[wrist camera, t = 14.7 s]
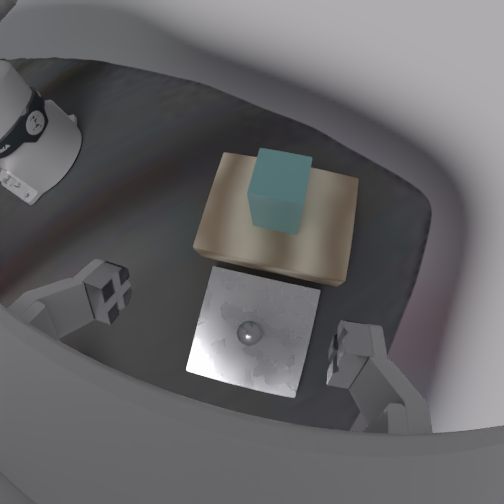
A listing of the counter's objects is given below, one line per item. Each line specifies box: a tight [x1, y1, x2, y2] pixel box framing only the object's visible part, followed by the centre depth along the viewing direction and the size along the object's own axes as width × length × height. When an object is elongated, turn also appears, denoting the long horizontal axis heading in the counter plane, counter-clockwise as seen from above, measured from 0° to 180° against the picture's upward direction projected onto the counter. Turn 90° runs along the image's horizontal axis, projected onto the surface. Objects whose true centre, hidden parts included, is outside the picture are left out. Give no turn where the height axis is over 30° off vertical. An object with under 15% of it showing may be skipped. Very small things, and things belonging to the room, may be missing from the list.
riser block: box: [193, 152, 359, 287], centre depth 32 cm, size 16×12×4 cm
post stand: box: [186, 266, 320, 398], centre depth 28 cm, size 12×12×6 cm
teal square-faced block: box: [247, 148, 312, 235], centre depth 27 cm, size 5×5×8 cm
